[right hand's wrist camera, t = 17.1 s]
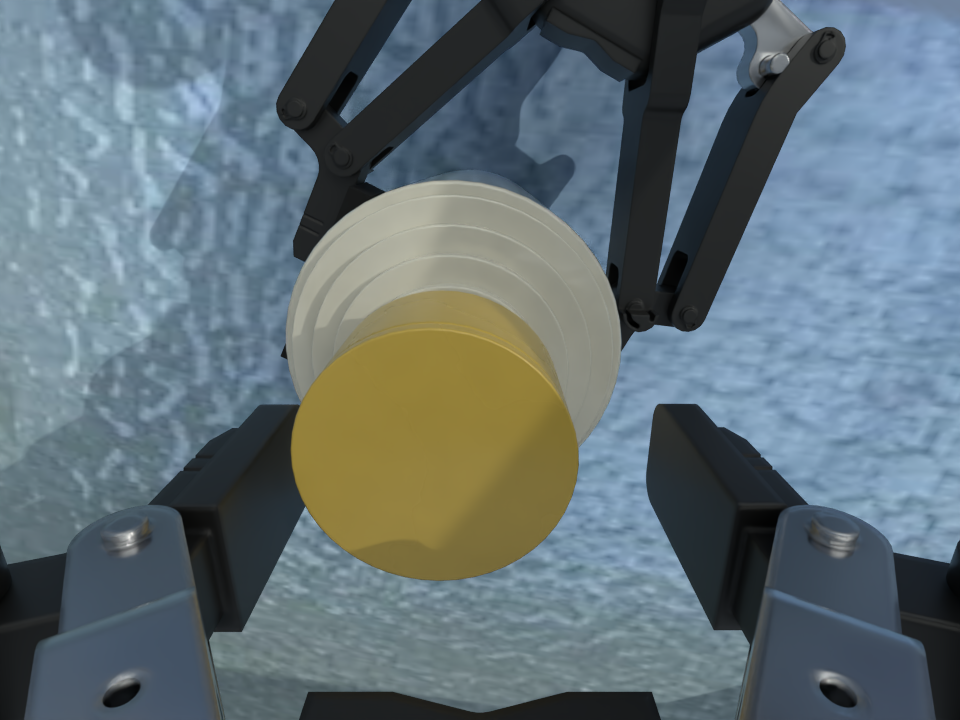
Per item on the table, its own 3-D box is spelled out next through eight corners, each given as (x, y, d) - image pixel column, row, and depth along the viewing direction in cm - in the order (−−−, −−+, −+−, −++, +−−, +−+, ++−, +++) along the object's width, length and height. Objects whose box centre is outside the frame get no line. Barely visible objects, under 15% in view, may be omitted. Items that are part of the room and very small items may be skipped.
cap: (335, 275, 10) (290, 309, 8) (578, 305, 10) (606, 349, 8) (328, 484, 12) (289, 566, 9) (539, 509, 12) (552, 594, 10)
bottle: (563, 172, 25) (734, 204, 8) (549, 346, 28) (649, 648, 11) (380, 165, 25) (145, 180, 8) (384, 340, 28) (220, 632, 11)
